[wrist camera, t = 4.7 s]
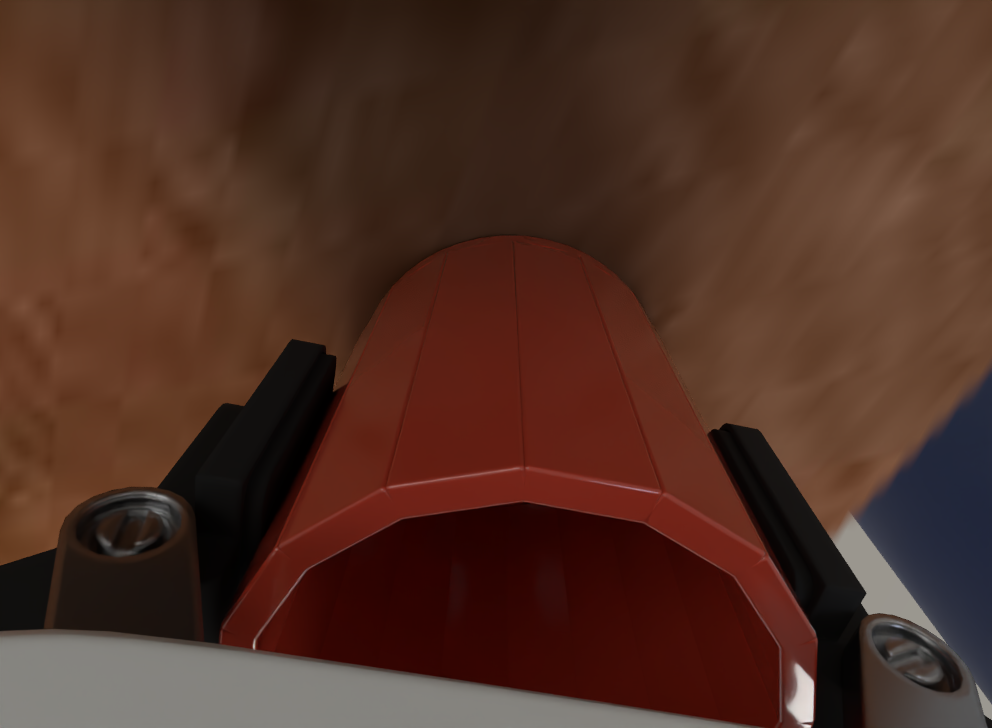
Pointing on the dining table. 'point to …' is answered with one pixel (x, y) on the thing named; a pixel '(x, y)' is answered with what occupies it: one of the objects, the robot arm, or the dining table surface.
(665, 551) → the cup
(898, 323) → the dining table surface
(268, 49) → the dining table surface
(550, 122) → the dining table surface
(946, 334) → the dining table surface
